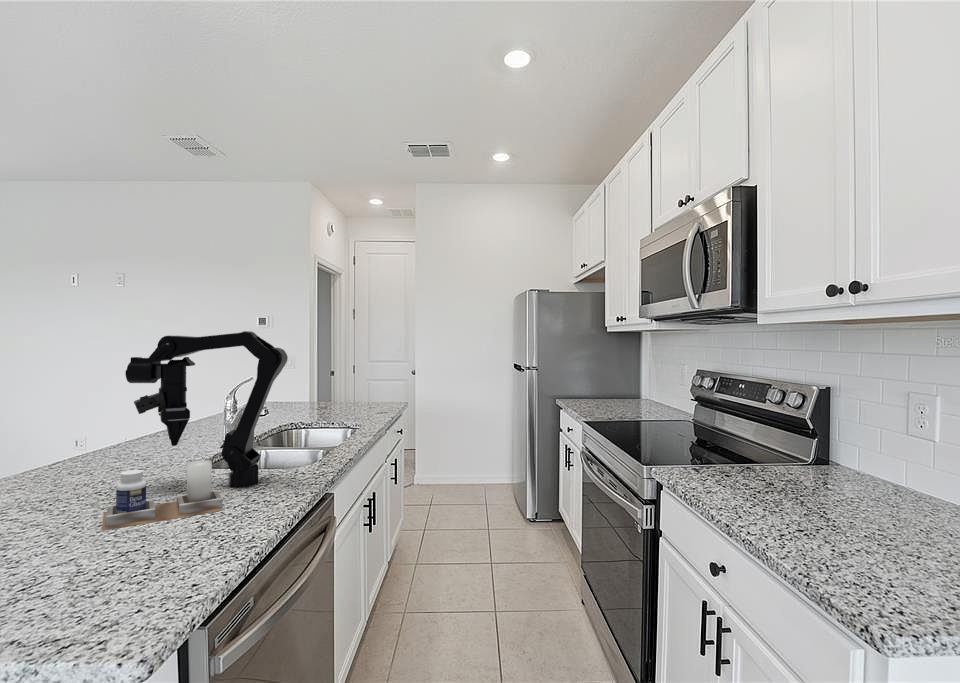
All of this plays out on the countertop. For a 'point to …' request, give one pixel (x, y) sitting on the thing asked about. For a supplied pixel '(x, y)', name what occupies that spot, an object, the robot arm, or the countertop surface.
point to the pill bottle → (131, 492)
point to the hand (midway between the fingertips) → (173, 442)
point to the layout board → (161, 511)
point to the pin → (199, 481)
